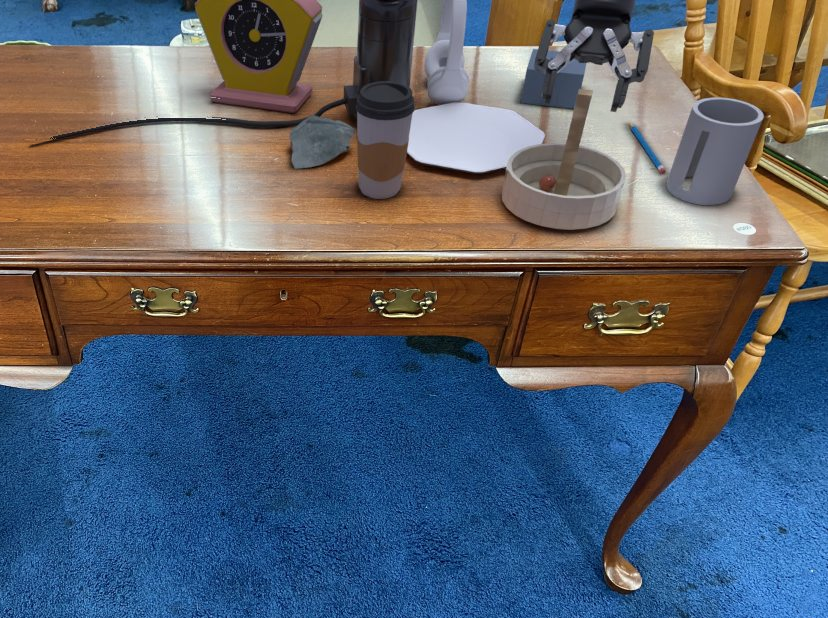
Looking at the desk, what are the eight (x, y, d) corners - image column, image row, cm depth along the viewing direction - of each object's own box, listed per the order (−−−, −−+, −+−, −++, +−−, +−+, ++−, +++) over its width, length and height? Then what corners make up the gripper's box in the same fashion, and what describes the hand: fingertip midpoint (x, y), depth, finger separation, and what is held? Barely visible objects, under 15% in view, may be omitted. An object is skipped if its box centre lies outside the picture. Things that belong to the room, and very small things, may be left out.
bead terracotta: (537, 189, 119) (544, 196, 120) (552, 182, 117) (559, 190, 119) (535, 175, 119) (542, 183, 121) (551, 169, 118) (558, 177, 120)
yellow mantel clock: (196, 100, 147) (184, -29, 132) (217, 81, 153) (207, -44, 138) (309, 116, 141) (310, -17, 126) (326, 95, 148) (328, -34, 132)
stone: (357, 172, 129) (355, 128, 133) (356, 154, 125) (354, 109, 130) (291, 178, 130) (291, 134, 134) (288, 160, 126) (288, 115, 131)
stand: (520, 102, 143) (526, 68, 139) (526, 81, 150) (533, 48, 146) (576, 109, 141) (584, 74, 137) (580, 87, 147) (588, 54, 143)
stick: (551, 202, 117) (577, 93, 106) (553, 196, 119) (578, 88, 107) (564, 204, 117) (592, 95, 106) (565, 198, 118) (592, 89, 107)
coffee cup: (406, 176, 125) (415, 79, 115) (407, 203, 119) (417, 104, 109) (353, 175, 126) (357, 79, 115) (351, 202, 120) (355, 103, 109)
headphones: (426, 117, 140) (439, -7, 126) (421, 75, 153) (432, -42, 139) (467, 117, 140) (486, -7, 126) (459, 75, 153) (474, -42, 139)
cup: (732, 181, 122) (764, 103, 113) (729, 209, 116) (762, 130, 107) (669, 170, 125) (695, 93, 116) (662, 197, 119) (689, 119, 110)
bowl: (521, 237, 112) (528, 202, 108) (487, 181, 124) (493, 147, 120) (633, 228, 113) (645, 193, 109) (590, 173, 124) (599, 139, 121)
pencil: (660, 174, 124) (661, 170, 123) (627, 125, 136) (628, 121, 136) (665, 174, 124) (666, 170, 123) (632, 125, 136) (633, 121, 136)
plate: (552, 124, 137) (554, 116, 136) (522, 189, 121) (524, 180, 120) (418, 103, 144) (419, 95, 143) (374, 162, 129) (375, 153, 128)
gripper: (555, -35, 105) (527, 87, 105) (672, -26, 101) (642, 100, 102) (551, -4, 112) (524, 110, 112) (659, 5, 109) (631, 123, 109)
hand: (580, 105), depth 107 cm, fingers open, 8 cm apart
